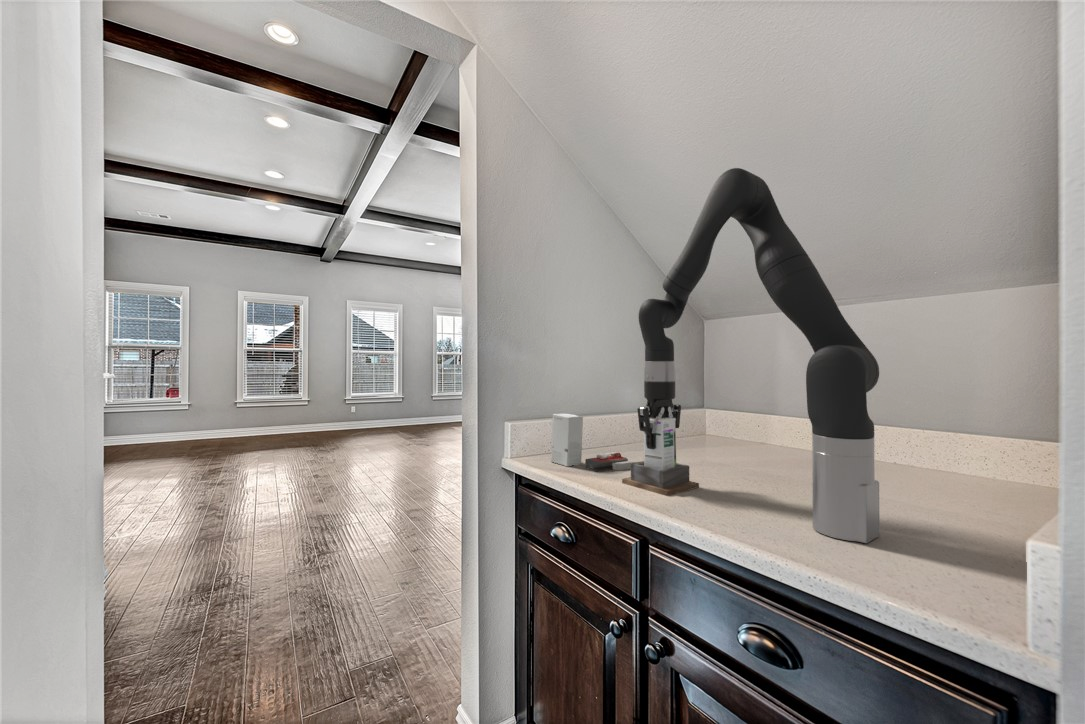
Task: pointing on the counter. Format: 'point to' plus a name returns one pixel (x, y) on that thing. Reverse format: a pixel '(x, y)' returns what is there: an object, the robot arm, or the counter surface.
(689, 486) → the holder
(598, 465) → the walkie-talkie
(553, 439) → the skincare box
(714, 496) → the counter surface
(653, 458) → the syrup box
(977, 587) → the counter surface
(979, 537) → the counter surface
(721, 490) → the counter surface
